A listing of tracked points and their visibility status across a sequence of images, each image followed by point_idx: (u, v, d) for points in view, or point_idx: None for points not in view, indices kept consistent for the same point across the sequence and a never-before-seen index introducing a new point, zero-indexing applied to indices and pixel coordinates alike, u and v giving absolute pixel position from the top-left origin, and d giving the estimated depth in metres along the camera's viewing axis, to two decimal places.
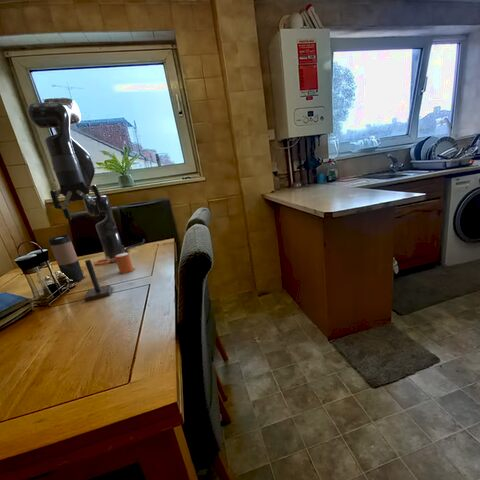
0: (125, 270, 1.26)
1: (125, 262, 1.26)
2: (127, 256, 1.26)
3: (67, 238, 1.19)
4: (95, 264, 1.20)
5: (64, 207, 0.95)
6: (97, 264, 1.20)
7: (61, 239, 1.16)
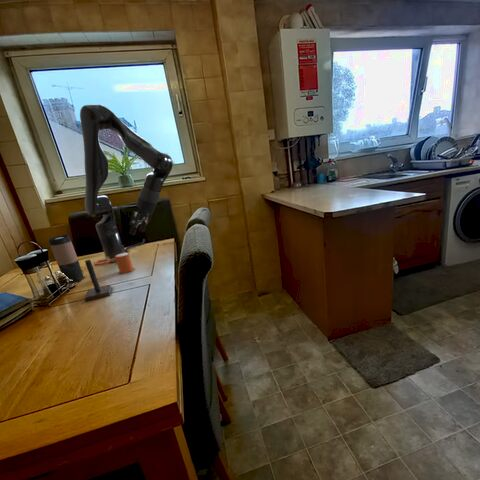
0: (125, 270, 1.26)
1: (125, 262, 1.26)
2: (127, 256, 1.26)
3: (67, 238, 1.19)
4: (95, 264, 1.20)
5: (137, 226, 1.17)
6: (97, 264, 1.20)
7: (61, 239, 1.16)
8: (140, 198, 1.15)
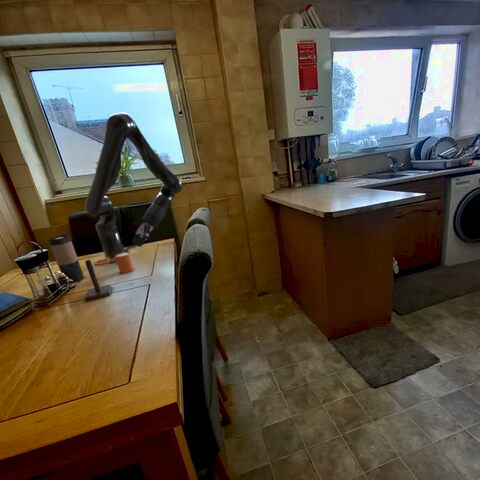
0: (125, 270, 1.26)
1: (125, 262, 1.26)
2: (127, 256, 1.26)
3: (67, 238, 1.19)
4: (95, 264, 1.20)
5: None
6: (97, 264, 1.20)
7: (61, 239, 1.16)
8: (152, 214, 1.28)
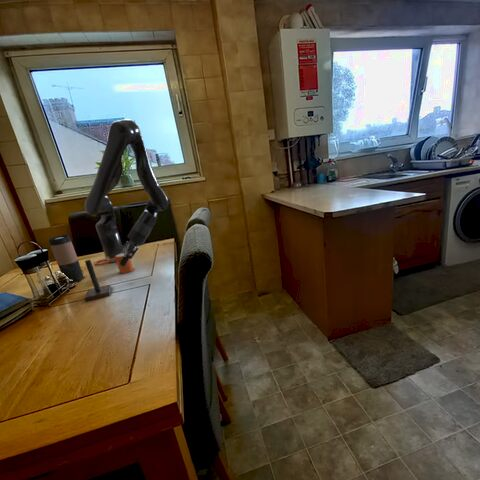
0: (125, 270, 1.26)
1: None
2: None
3: (67, 238, 1.19)
4: (95, 264, 1.20)
5: None
6: (97, 264, 1.20)
7: (61, 239, 1.16)
8: (137, 232, 1.25)
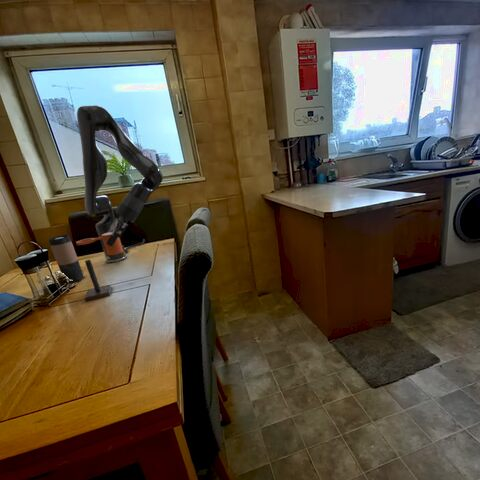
0: (114, 251, 1.09)
1: None
2: None
3: (67, 238, 1.19)
4: (77, 243, 1.02)
5: None
6: (79, 243, 1.02)
7: (61, 239, 1.16)
8: (127, 206, 1.08)
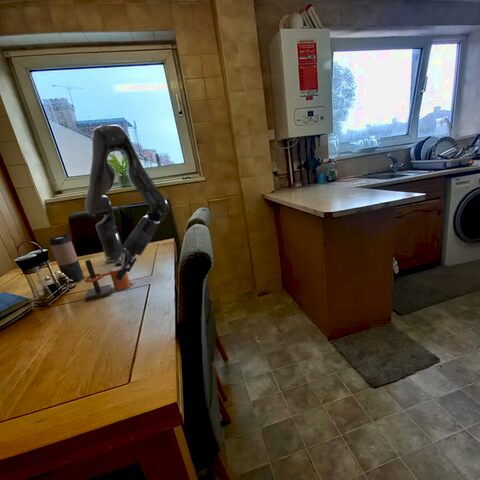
0: (121, 286, 1.09)
1: None
2: None
3: (67, 238, 1.19)
4: (85, 280, 1.02)
5: None
6: (88, 280, 1.02)
7: (61, 239, 1.16)
8: (135, 241, 1.08)
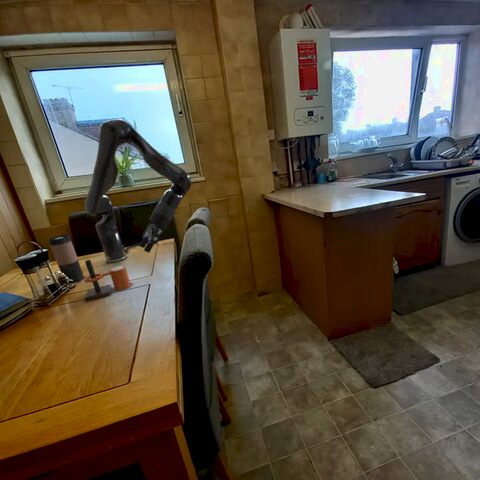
0: (121, 286, 1.09)
1: (121, 277, 1.08)
2: (123, 270, 1.08)
3: (67, 238, 1.19)
4: (85, 280, 1.02)
5: None
6: (88, 280, 1.02)
7: (61, 239, 1.16)
8: (160, 214, 1.12)
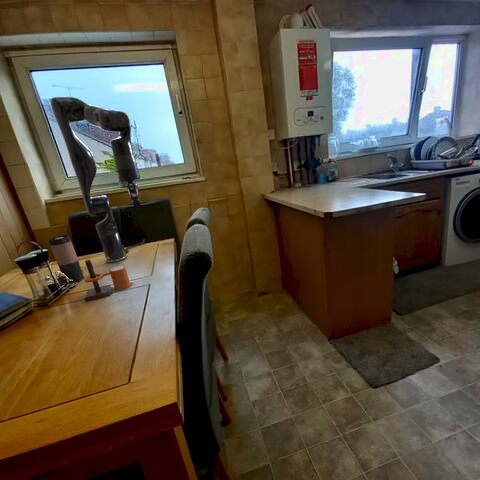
0: (121, 286, 1.09)
1: (121, 277, 1.08)
2: (123, 270, 1.08)
3: (67, 238, 1.19)
4: (85, 280, 1.02)
5: None
6: (88, 280, 1.02)
7: (61, 239, 1.16)
8: (122, 169, 1.05)
